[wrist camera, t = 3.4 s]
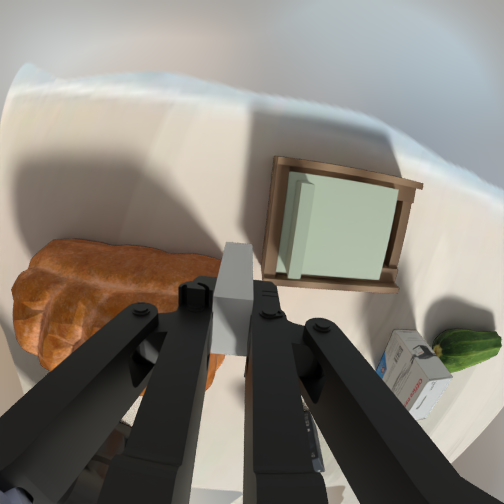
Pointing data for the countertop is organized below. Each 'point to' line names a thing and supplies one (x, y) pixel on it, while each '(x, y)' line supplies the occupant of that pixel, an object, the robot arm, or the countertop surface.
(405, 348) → the ink box
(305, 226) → the lid
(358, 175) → the pencil box
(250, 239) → the countertop surface
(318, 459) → the box
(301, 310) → the countertop surface
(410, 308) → the countertop surface
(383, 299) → the countertop surface
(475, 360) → the vegetable
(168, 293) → the bread
